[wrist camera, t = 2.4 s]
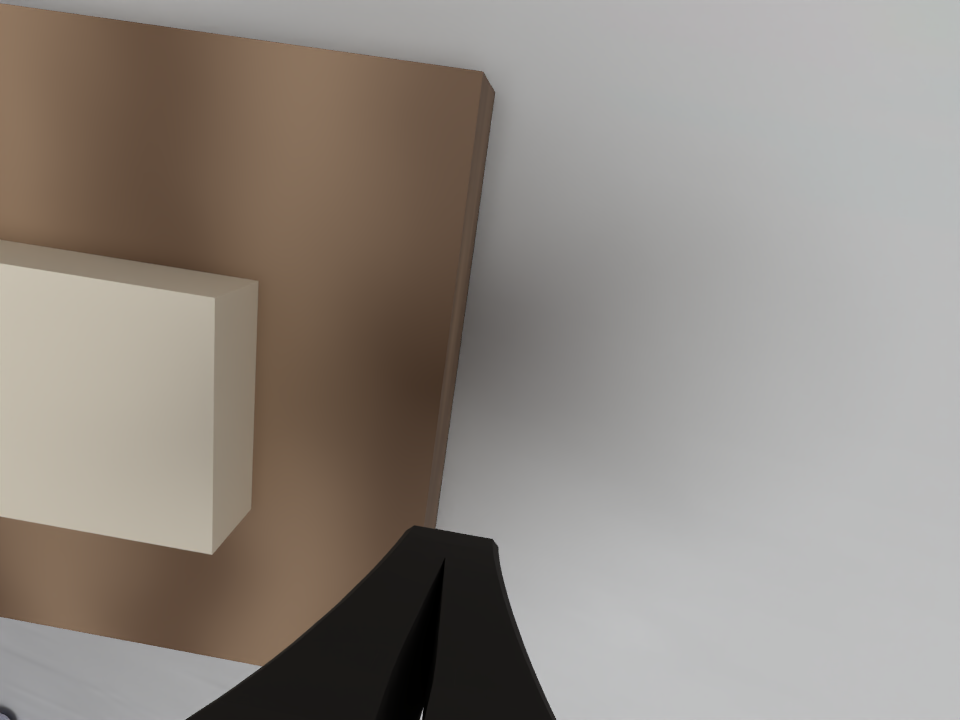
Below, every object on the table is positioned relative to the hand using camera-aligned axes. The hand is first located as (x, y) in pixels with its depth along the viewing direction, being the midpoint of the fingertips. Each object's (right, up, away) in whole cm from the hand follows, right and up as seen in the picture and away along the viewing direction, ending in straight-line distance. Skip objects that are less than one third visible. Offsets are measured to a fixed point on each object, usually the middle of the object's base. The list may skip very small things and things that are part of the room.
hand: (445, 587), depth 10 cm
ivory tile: (-9, +3, +6) cm, 11 cm away
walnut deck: (-7, +4, +9) cm, 12 cm away
